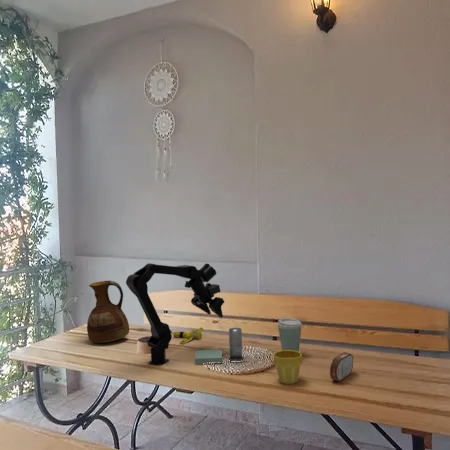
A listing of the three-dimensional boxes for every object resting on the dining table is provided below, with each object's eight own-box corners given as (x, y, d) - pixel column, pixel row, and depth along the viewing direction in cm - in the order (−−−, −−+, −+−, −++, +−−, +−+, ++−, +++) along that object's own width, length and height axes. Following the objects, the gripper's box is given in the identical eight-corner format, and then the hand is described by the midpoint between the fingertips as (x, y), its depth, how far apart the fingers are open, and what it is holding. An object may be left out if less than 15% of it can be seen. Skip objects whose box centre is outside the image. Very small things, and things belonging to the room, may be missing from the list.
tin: (347, 371, 169) (346, 349, 169) (355, 372, 167) (354, 350, 167) (329, 383, 158) (328, 359, 157) (337, 385, 156) (337, 361, 155)
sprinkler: (181, 324, 232) (207, 325, 226) (182, 331, 232) (208, 333, 227) (163, 339, 214) (191, 340, 208) (164, 347, 214) (192, 349, 209)
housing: (240, 363, 181) (239, 331, 181) (226, 361, 183) (225, 330, 183) (245, 358, 187) (245, 327, 187) (231, 357, 189) (230, 326, 189)
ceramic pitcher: (87, 337, 227) (85, 279, 226) (127, 333, 233) (125, 276, 232) (87, 348, 208) (85, 284, 208) (131, 343, 214) (129, 281, 214)
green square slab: (222, 363, 181) (221, 357, 181) (195, 364, 181) (194, 358, 181) (222, 355, 192) (221, 349, 192) (196, 356, 192) (196, 350, 192)
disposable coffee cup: (306, 352, 193) (305, 318, 192) (299, 360, 183) (298, 324, 182) (282, 350, 197) (281, 316, 197) (274, 357, 187) (273, 322, 187)
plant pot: (269, 378, 164) (268, 351, 164) (293, 374, 167) (293, 348, 167) (282, 388, 154) (281, 360, 154) (308, 383, 158) (307, 355, 158)
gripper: (224, 279, 194) (240, 306, 199) (200, 275, 209) (215, 301, 214) (206, 296, 188) (223, 323, 194) (183, 291, 203) (199, 316, 209)
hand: (215, 315), depth 203 cm, fingers open, 9 cm apart
